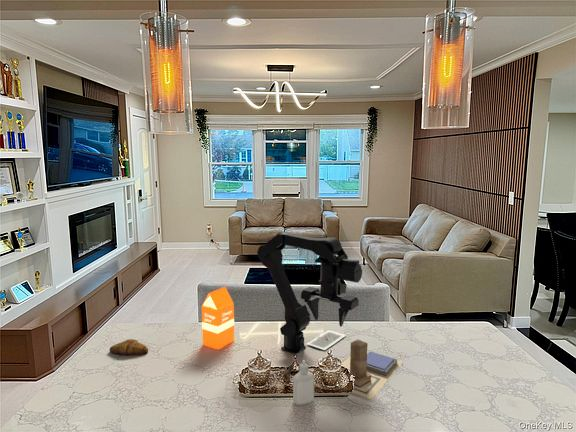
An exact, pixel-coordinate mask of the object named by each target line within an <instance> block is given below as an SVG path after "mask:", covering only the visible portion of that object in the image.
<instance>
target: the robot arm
mask: <svg viewBox="0 0 576 432" xmlns="http://www.w3.org/2000/svg"><path fill="white" fill-rule="evenodd" d="M287 246H289V247H293V248H299V249H301V250H308V251H310V252H312V253H314V254H315V255H317V256H318V257H317V258H316V259H315V260H314V263H318V264H320V279H319V280H318V281H317V282H318V283H317V284H318V285H320V287H319V288H320V289H319V288H318V287H317V288H316V287H312V286H309V287H307V288H305V289H302V291H301V293H300V299H301V300H303V301H304V302H305V304H303V305H302V304H301V303H299V301H298V299H297V297H296V294H295V292H294V290H293V288H292V287H293V286H292V285H291V283H290V280H289V278H288V275H287V273H286V271H285V269H284V265H283V252H282V251H283V250H284V249H285V248H286V247H287ZM256 253H257V257H258V259H259V261H260V262H261V264H262V265H263V266H264V267H265V268H266V269H268V270H269V273H270V275H271V277H272V280H273V282H274V285H275V287H276V290H277V292H278V294H279V297H280V300H281V301H282V305H283V306H284V321H285V323H284V324H283V325H282V326H281V327H280V328H279V331H280V333H281V335H282V336H283V346H281V350H282V351H285V352H288V353H291V354H295V355H297V354H298V353H300V352H301V351H302V350H305V349H306V348H307V347H306V345H305V336H304V332H303V331H305V330H307V329H306V328H307V327H308V326H309V325H310V322H311V314H312V316H313V317H314V320H315V321H318V320H319V302H320V299H321V300H324V301H329V302H333V303H337V304H339V308H338V324H339V328H340V327H343V325H344V322H345V320H346V318H347V316H348V313H349V311H353V310H354V309H355V308H357V307H358V306H360V305H359V303H360V301H359V298H358V297H357V296H354V295H350V294H346V293H347V287H348V284H345V283H341V280H342V281H346V282H352V283H357V284H358V283H359V282H361V279H362V278H363V277H362V276H363V269H362V265H361V264H360V260H357V259H349V256H348V255H347V253H346V251H345V250H344V248H343V247H342V243H341V241H340V240H339V239H338V238H336V237H317V238H316V237H312V236H307V235H301V234H297V233H291V232H288V231H282V232H279V233H277V234H276V235H275V236H274V237H272V238H271V239H270V240H269V241H267V242H266V243H265V244H262V245H260V246H259V247H258V249H257V251H256ZM342 294H343V295H344V294H345V296H343V297H341V295H342ZM306 304H307V305H306ZM307 306H308V307H307ZM308 308H309V310H310V312H311V313H309V311H308Z"/></svg>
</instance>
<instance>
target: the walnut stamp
mask: <svg viewBox="0 0 576 432" xmlns="http://www.w3.org/2000/svg"><path fill="white" fill-rule="evenodd" d="M367 351H368V342H366V341H363V340H361V339H355V340H354V341H352V342H350V354H349V355H350V356H349V357H350V372H349V373H350V375H353V376H355V377H353V378H354V379H355V381H354V385H355V386H357V387H359V388H360V387H362V386H364V385H365V384H367V383H368V382H370V381H371V374H369V373H367Z"/></svg>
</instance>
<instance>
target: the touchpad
mask: <svg viewBox="0 0 576 432" xmlns="http://www.w3.org/2000/svg"><path fill="white" fill-rule="evenodd" d="M346 336H347V335H346V334H342V333H340V332H337V331H333V330H329V329H327V330H326V331H325V332H323V333H321V334H320V335H318V336H316V337H315V338H314V339H312V340H310V341H309V342H307V343H306V345H307V346H311V347H314V348H316V349H320V350H322V351H326V350H327V349H329V348H330V347H331V346H333V345H335V344H336V343H338V342H339V341H340V340H342V339H343V338H345V337H346Z"/></svg>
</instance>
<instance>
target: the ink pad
mask: <svg viewBox="0 0 576 432" xmlns="http://www.w3.org/2000/svg"><path fill="white" fill-rule="evenodd" d="M397 360H398V359H397V358H395V357H391V356H387V355H384V354H380V353H377V352H374V351H371V350H370V352H369V353H368V354H367V370H368V371H371V372H374V373H377V374H380V375H383V376H387V375H388V374H389V373H390V371H391V370H392V369H393V368H394V367H395V366H396V365H397Z"/></svg>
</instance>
